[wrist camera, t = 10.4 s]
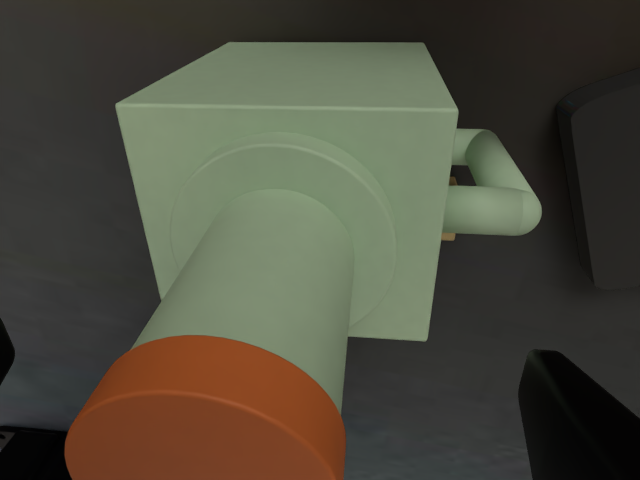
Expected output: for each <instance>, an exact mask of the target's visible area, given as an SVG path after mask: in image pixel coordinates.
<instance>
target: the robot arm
mask: <svg viewBox="0 0 640 480" xmlns="http://www.w3.org/2000/svg"><path fill="white" fill-rule="evenodd" d="M14 358H15V350H14V347H13V344H12V342H11V340H10V337H9V335H8V333H7V331H6V328H5V326H4V324H3V321H2V320H1V318H0V385H1V383H2V382H3V380H4V378H5V376H6V375H7V373H8V371H9V369H10V367H11V366H12V364H13V361H14ZM518 398H519V406H520V411H521V417H522V422H523V428H524V433H525V439H526V444H527V450H528V456H529V461H530V467H531V472H532V478H533V480H640V418H638V417H637V416H636V415H635V414H634V413H632V412H631V411H630V410H629V409H628V408H626V407H625V406H624V405H623V404H622V403H620V402H619V401H618V400H617V399H616V398H614V397H613V396H612V395H611V394H610V393H608V392H607V391H606V390H605V389H604V388H602V387H601V386H600V385H599V384H598V383H596V382H595V381H594V380H593V379H592V378H590V377H589V376H588V375H587V374H586V373H584V372H583V371H582V370H581V369H580V368H578V367H577V366H576V365H575V364H574V363H572V362H571V361H570V360H569V359H568V358H566V357H565V356H564V355H563V354H561V353H560V352H558V351H551V350H536V349H535V350H532V351H530V352H529V354H528V356H527V359H526V363H525V366H524V370H523V374H522V377H521V381H520V385H519V391H518ZM67 434H68V432H65V431H54V430H43V429H32V428H21V427H10V426H0V447H1V449H2V450H1V451H0V480H72V478H71V476H70V474H69V471H68V468H67V466H66V460H65V455H64V454H65V441H66V437H67Z"/></svg>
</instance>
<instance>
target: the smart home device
mask: <svg viewBox="0 0 640 480" xmlns="http://www.w3.org/2000/svg"><path fill="white" fill-rule="evenodd" d="M556 112H557V118H558V124H559V131H560V137H561V143H562V150H563V156H564V162H565V169H566V175H567V181H568V188H569V194H570V200H571V207H572V213H573V219H574V226H575V232H576V238H577V245H578V251H579V257H580V264H581V266H582V268H583V269H584V271H585V272H586V274H587V275H588V277H589V278H590V279H591V281H592V282H593V284H594V285H595V287H596V288H598V289H602V290H621V289H627V288H632V287H637V286H640V68H637V69H634V70H631V71H628V72H625V73H622V74H619V75H616V76H613V77H610V78H607V79H604V80H601V81H598V82H595V83H592V84H589V85H586V86H584V87H582V88H579V89H577V90H575V91H573V92H572V93H570V94H568V95H567V96H566V97H564V98H563V99H562V100H561V101H560V102H559V103H558V105H557V107H556Z"/></svg>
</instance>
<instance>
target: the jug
mask: <svg viewBox="0 0 640 480" xmlns="http://www.w3.org/2000/svg"><path fill="white" fill-rule="evenodd" d="M116 112H117V116H118V120H119V124H120V129H121V133H122V137H123V141H124V145H125V150H126V154H127V158H128V162H129V167H130V171H131V175H132V179H133V183H134V188H135V192H136V196H137V200H138V205H139V209H140V213H141V217H142V221H143V226H144V230H145V234H146V238H147V243H148V247H149V251H150V255H151V259H152V264H153V268H154V272H155V276H156V281H157V285H158V289H159V293H160V297H161V303H160V304H159V306H158V308H157V309H156V311H155V312H154V314H153V315H152V317H151V318H150V320H149V322H148V323H147V325H146V326H145V328H144V329H143V331H142V332H141V334H140V336H139V337H138V339H137V340H136V342H135V343H134V345H133V347H132V348H131V350H130V351H128V352H126V353H125V354H124V355H122V356H121V357H120V358H118V359H117V360H116V361H115V362H114V363H113V365H112V366H111V367H110V368H109V369H108V371H107V372H106V374H105V375H104V377H103V378H102V380H101V381H100V383H99V384H98V386H97V387H96V389H95V390H94V392H93V393H92V395H91V396H90V398H89V399H88V401H87V402H86V404H85V405H84V407H83V408H82V410H81V411H80V413H79V414H78V416H77V417H76V419H75V420H74V422H73V424H72V425H71V427H70V429H69V431H68V434H67V437H66V441H65V454H64V455H65V460H66V466H67V468H68V471H69V474H70V476H71V478H72V480H343V477H344V463H345V450H346V434H345V428H344V424H343V421H342V418H341V407H342V396H343V385H344V373H345V362H346V351H347V339H348V336H350V337H365V338H380V339H396V340H411V341H426V340H427V338H428V331H429V324H430V316H431V309H432V302H433V295H434V287H435V280H436V273H437V266H438V258H439V251H440V244H441V236H442V233H464V234H487V235H511V236H517V235H523V234H526V233H528V232H530V231H531V230H533V229H534V228H535V227H536V226H537V224H538V223H539V221H540V218H541V214H542V208H541V204H540V201H539V200H538V198H537V196H536V195H535V193H534V192H533V190H532V189H531V187H530V186H529V184H528V183H527V181H526V180H525V178H524V177H523V175H522V174H521V172H520V171H519V169H518V168H517V166H516V165H515V163H514V161H513V160H512V158H511V157H510V155H509V154H508V152H507V151H506V149H505V148H504V146H503V145H502V143H501V142H500V140H499V139H498V137H497V136H496V135H495V134H494V133H493V132H491V131H489V130H485V129H456V127H457V120H458V113H459V112H458V109H457V107H456V105H455V103H454V101H453V99H452V97H451V95H450V93H449V91H448V89H447V87H446V85H445V83H444V81H443V79H442V77H441V75H440V74H439V72H438V70H437V68H436V66H435V64H434V62H433V60H432V58H431V56H430V54H429V52H428V50H427V48H426V46H425V44H424V43H406V42H229V43H227V44H225V45H223V46H221V47H219V48H218V49H216V50H214V51H212V52H210V53H208V54H207V55H205V56H203V57H201V58H199V59H197V60H196V61H194V62H192V63H190V64H188V65H186V66H184V67H183V68H181V69H179V70H177V71H175V72H173V73H172V74H170V75H168V76H166V77H164V78H162V79H161V80H159V81H157V82H155V83H153V84H151V85H150V86H148V87H146V88H144V89H142V90H140V91H139V92H137V93H135V94H133V95H131V96H129V97H127V98H126V99H124V100H122V101H120V102H118V103H116ZM451 165H468V166H469V169H470V171H471V173H472V176H473V178H474V181H475V183H476V185H477V186H450V185H449V178H450V171H451Z"/></svg>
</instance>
